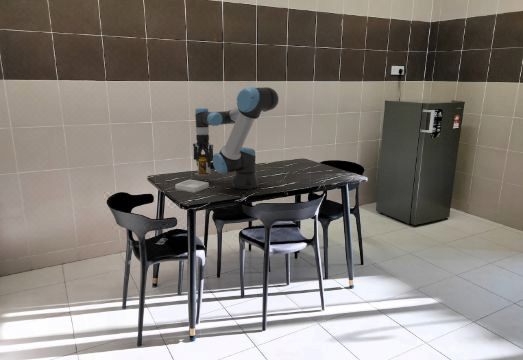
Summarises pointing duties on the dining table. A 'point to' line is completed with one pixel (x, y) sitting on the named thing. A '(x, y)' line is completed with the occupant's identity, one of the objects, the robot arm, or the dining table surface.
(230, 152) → the robot arm
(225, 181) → the dining table surface
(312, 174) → the dining table surface
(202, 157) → the condiment
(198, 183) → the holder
